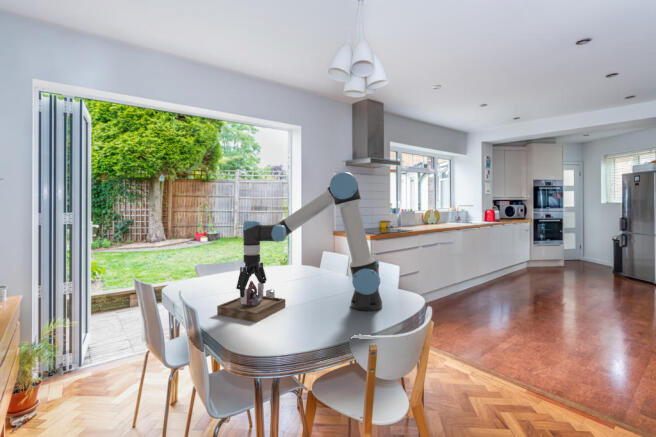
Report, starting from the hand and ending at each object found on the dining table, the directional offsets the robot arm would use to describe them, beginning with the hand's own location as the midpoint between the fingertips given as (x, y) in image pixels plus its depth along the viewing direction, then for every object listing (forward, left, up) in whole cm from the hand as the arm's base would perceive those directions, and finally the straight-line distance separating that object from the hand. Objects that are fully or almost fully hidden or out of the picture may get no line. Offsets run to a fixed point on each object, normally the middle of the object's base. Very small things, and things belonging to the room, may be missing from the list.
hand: (252, 300), depth 150 cm
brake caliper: (+1, 0, -2) cm, 2 cm away
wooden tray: (0, 0, -5) cm, 5 cm away
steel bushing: (+2, -17, -5) cm, 18 cm away
